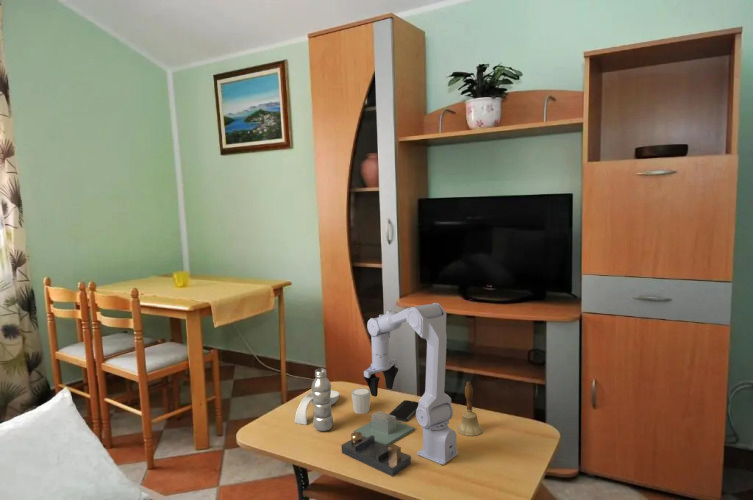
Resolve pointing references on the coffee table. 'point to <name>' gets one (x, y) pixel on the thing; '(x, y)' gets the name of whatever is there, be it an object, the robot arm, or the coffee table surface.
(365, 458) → the hand plane
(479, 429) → the hand bell
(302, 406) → the spoon rest
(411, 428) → the rubber mat
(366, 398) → the grey and white cylinder
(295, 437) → the coffee table surface
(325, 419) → the silver metal bottle
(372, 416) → the rectangular metal block
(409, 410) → the phone
